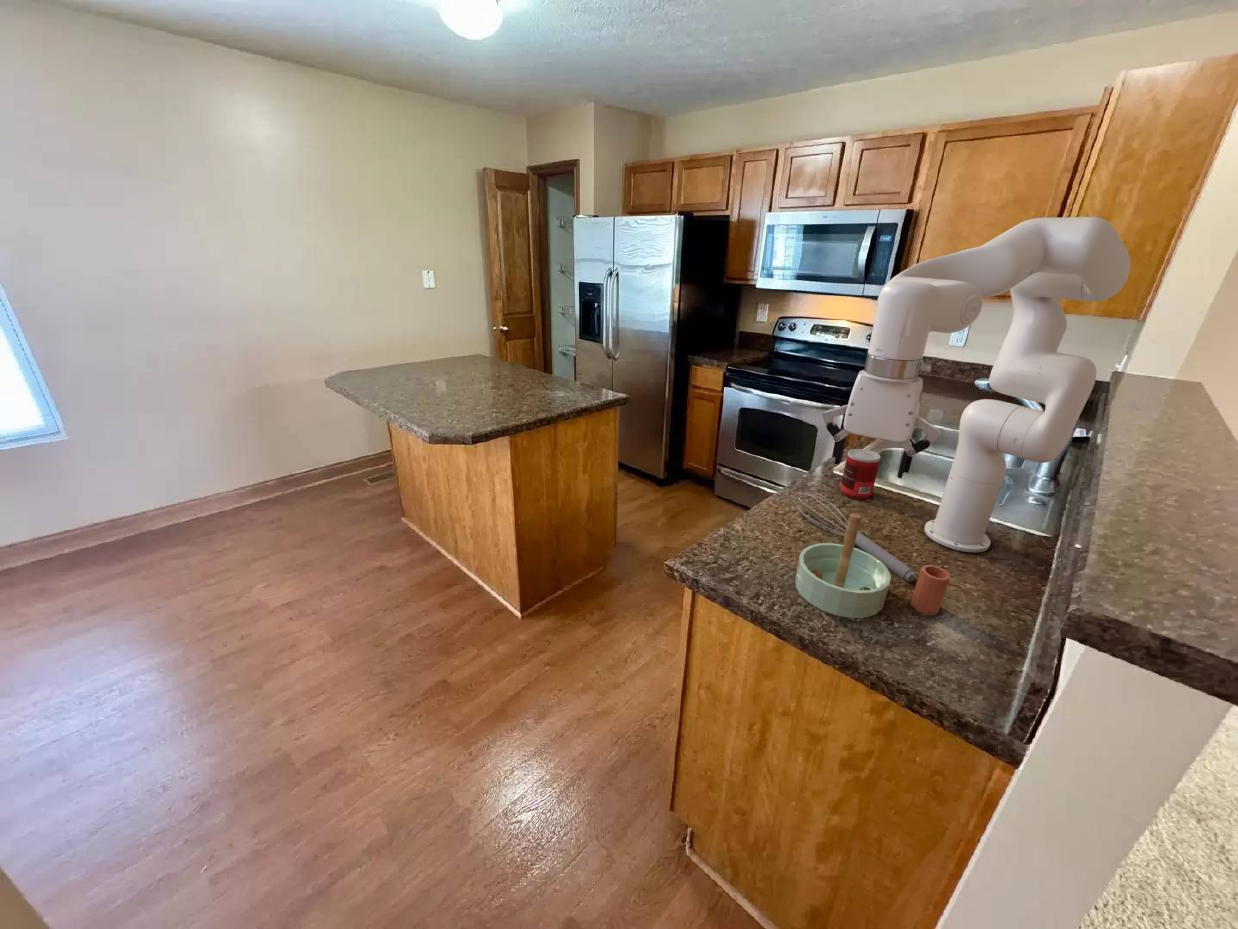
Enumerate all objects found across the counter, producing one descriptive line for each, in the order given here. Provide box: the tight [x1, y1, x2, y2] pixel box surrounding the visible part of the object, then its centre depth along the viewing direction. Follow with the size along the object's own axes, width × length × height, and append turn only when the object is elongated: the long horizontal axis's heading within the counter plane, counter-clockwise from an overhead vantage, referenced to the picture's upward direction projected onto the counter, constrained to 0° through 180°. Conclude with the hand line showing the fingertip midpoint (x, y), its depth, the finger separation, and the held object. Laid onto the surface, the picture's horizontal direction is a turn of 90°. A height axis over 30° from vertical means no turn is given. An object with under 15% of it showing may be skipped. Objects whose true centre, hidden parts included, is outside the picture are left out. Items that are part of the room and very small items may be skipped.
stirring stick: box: [834, 512, 862, 588], centre depth 92 cm, size 2×2×16 cm
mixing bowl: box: [794, 542, 892, 619], centre depth 95 cm, size 15×15×6 cm
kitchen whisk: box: [796, 491, 918, 583], centre depth 110 cm, size 6×34×6 cm, turn 23°
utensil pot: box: [910, 564, 952, 616], centre depth 90 cm, size 4×4×8 cm
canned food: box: [840, 448, 882, 500], centre depth 132 cm, size 8×8×11 cm
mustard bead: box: [811, 569, 823, 579], centre depth 98 cm, size 2×2×2 cm
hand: (868, 468), depth 86 cm, fingers open, 9 cm apart
